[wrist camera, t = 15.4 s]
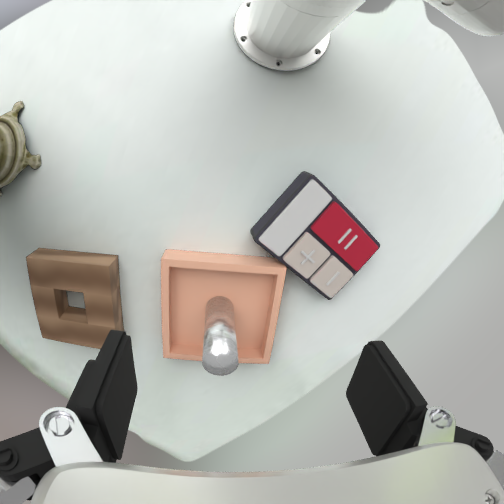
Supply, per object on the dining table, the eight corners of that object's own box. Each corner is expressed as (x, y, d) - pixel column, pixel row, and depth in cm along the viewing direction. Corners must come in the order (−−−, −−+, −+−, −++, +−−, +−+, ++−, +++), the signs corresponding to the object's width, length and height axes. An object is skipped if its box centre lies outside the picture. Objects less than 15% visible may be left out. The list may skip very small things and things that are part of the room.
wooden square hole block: (38, 247, 38) (26, 257, 35) (118, 255, 40) (109, 266, 36) (52, 324, 43) (42, 337, 39) (124, 336, 45) (118, 351, 41)
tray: (165, 249, 41) (161, 258, 37) (281, 258, 43) (286, 268, 39) (166, 343, 46) (163, 357, 43) (265, 349, 48) (268, 363, 45)
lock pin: (206, 295, 42) (202, 347, 31) (234, 297, 43) (240, 349, 32) (205, 319, 44) (201, 374, 32) (232, 320, 44) (236, 376, 33)
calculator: (331, 304, 42) (253, 242, 37) (321, 289, 46) (248, 230, 41) (384, 247, 40) (314, 173, 35) (370, 237, 44) (303, 169, 39)
